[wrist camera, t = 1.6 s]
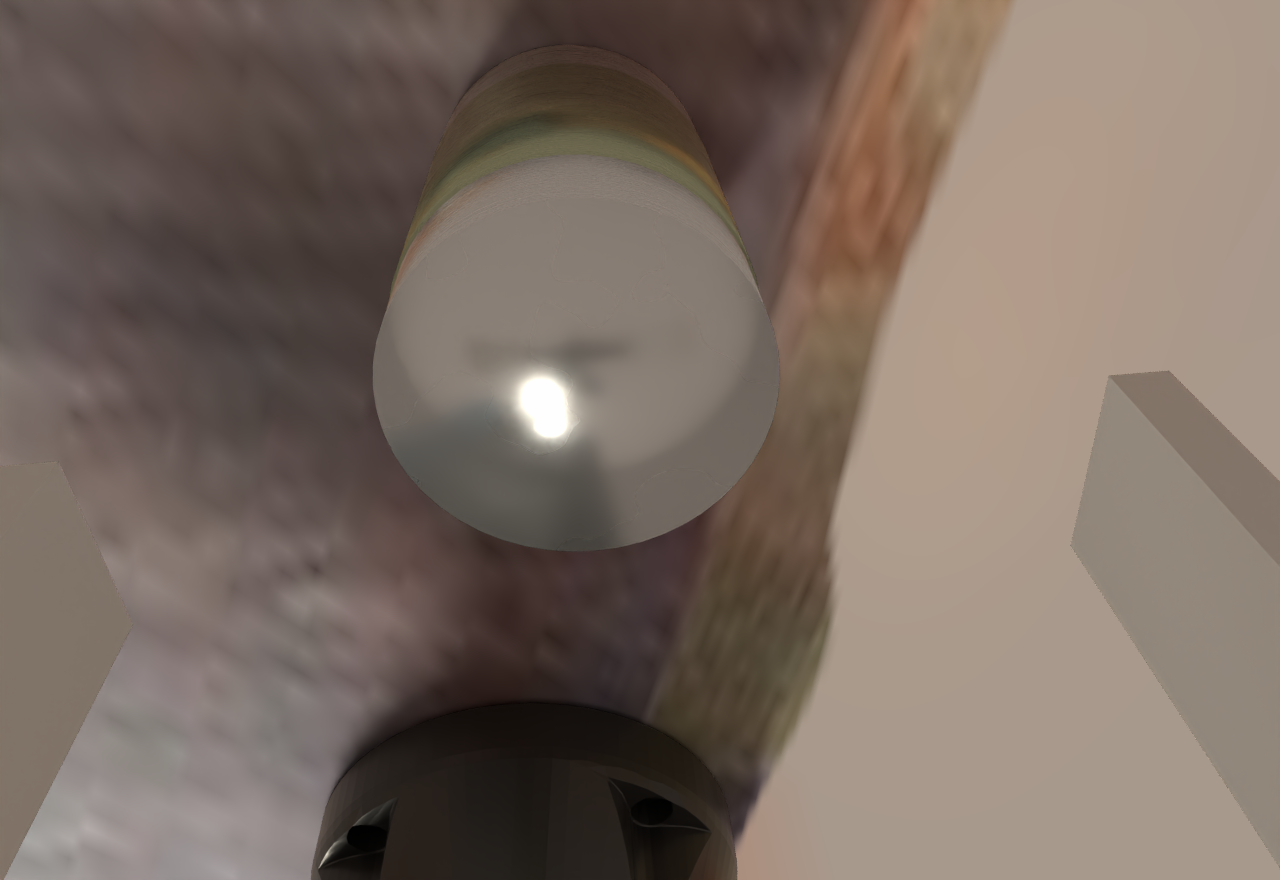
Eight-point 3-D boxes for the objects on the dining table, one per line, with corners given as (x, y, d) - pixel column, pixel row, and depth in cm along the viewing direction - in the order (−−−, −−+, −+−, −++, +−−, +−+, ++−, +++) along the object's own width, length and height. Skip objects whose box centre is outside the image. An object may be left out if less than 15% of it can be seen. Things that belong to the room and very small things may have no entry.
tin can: (709, 296, 26) (780, 536, 18) (458, 317, 26) (411, 569, 18) (703, 31, 23) (786, 176, 14) (412, 53, 23) (326, 213, 14)
